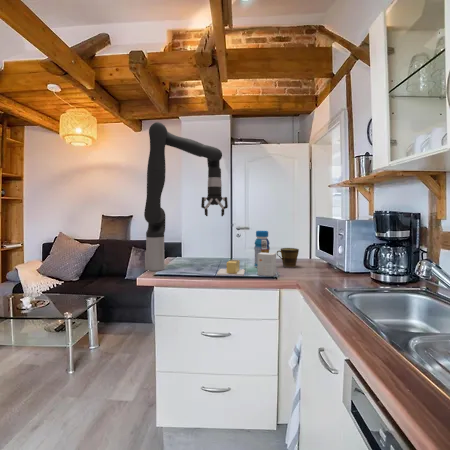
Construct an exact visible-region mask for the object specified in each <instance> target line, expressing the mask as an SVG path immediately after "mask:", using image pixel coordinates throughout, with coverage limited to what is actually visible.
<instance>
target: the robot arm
mask: <svg viewBox="0 0 450 450" xmlns="http://www.w3.org/2000/svg"><path fill="white" fill-rule="evenodd" d="M148 136H149V155H148V158H147V159H148V161H147V166H146V167H147V169H146V170H147V171H146V199H145V206H144V212H143V213H144V214H143V215H144V220H145V221H146V223H147V224H148V226H147V230H146V233H145V236H146V237H145V240H146V241H145V244H146V245H145V247H146V250H145V251H144V270H145V271H148V272H149V271H150V272H157V271H158V272H159V271H163V270H165V232H166V212H165V210H164V209H163V207H161V206H162V205H161V202H162V201H161V200H162V193H163V190H164V187H165V183H166V152H165V151H166V146H168V147H171V148H174V149H178V150H181V151H183V152H186V153H188V154H191V155H193V156H195V157H200V158H206V160H207V161H206V162H207V168H208V171H207V175H208V176H207V197H205V196H202V197H201V204H200V205H201V206H200V207H201V209H204V215H205V217H208V216H209V215H208V214H209V212H208V210H209V207H210V206H214V205H215V206H218V205H219V207H220V209H221V211H220V212H221V214H220V216H221V217H223V216H225V210H226V209H228V207H229V204H228V197H227V196H225V197H224V196H223V197H222V186H223V185H222V169H221V167H220V161H221V160H222V158H223V152H222V151H221V150H220V149H219V148H218V147H215V146H211V145H207V144H204V143H201V142H198V141H196V140H193V139H190V138H187V137H181V136H178V135H177V134H176V135H175V134H173V133H171V132H169V131H168V129H167V127H166V125H165V124H163V123H162V122H161V121H160V122H159V121H157V122H154V123H152V124H151V125H150V127H149V129H148ZM206 201H207V204H206V205H205V202H206ZM222 201H223V202H224V205H223V203H222Z"/></svg>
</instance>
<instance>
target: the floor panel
mask: <svg viewBox="0 0 450 450" xmlns="http://www.w3.org/2000/svg"><path fill="white" fill-rule="evenodd" d="M245 271H246V270H245V269H243V268H242V269H241V268H240V270H239V271H238V272H236V273H227V268H219V270H218V271H217V272H216V275H217V276H233V277H235V276H240V277H241V276H242V277H244V276H245Z"/></svg>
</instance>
